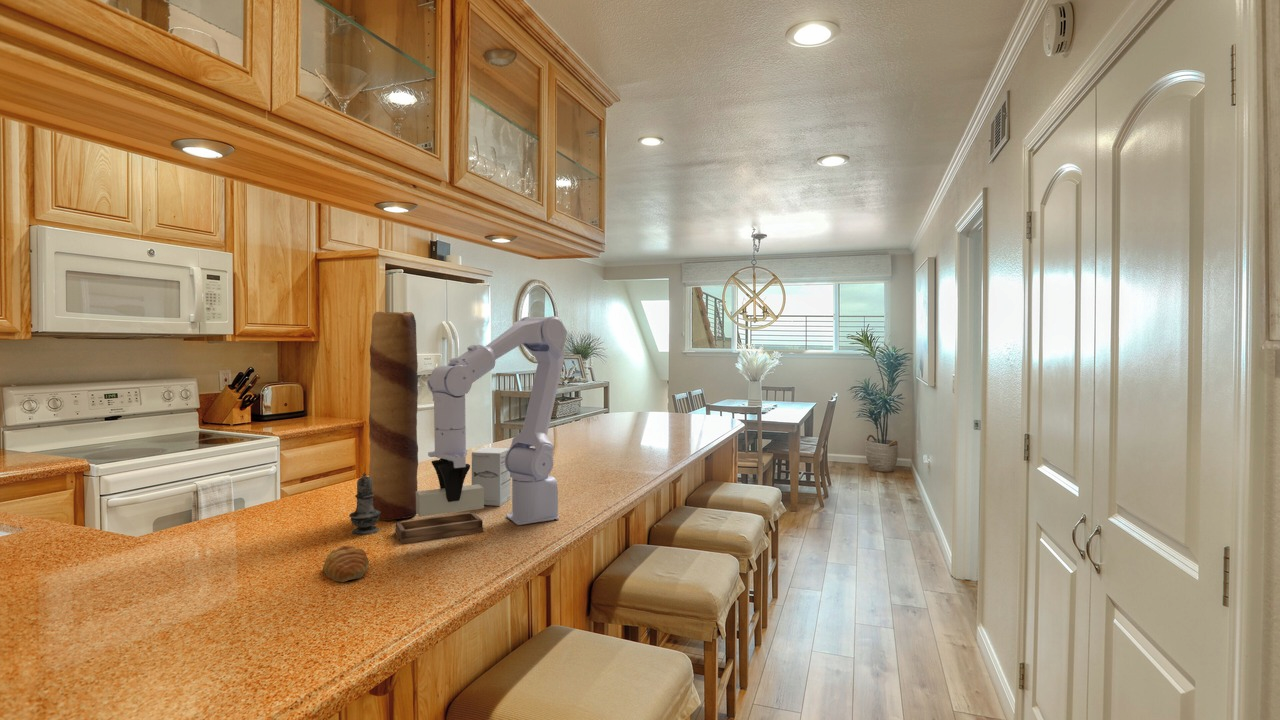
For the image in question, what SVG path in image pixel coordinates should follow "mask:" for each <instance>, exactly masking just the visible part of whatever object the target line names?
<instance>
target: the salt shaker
mask: <svg viewBox="0 0 1280 720" xmlns="http://www.w3.org/2000/svg"><path fill="white" fill-rule="evenodd" d="M362 475H363V476H361V477H359V478H358V479H357V480H356V481H357V482H356V494H355V495H354V497H355V498H356V507H355V511H354V512H351V513H349V515H348V517H349V518H350V521H351V523H352V525H353V526H355V527H354V528H353V529H352V530H351V531H350V534H351V535H352V536H353V535H354V536H368V535H373V534H375V532H376V533H377V531H378V532H379V531H380V528H379V527H378V526H375V525H376V523H377V522H378V521H379V520H378V518H379V514H380V513H381V512H380V511H378V510H375V509H374V507H373V496H374V493H372V479H371V478H369V476H366V475H367V473H366V472H364V473H363V474H362ZM372 533H373V534H372ZM367 534H368V535H367Z"/></svg>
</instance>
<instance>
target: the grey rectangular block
mask: <svg viewBox="0 0 1280 720" xmlns="http://www.w3.org/2000/svg"><path fill="white" fill-rule="evenodd" d="M484 508H485V505H484V488H483V487H482V486H480V485H479V484H477V485H472V484H471V485H470V484H469V485H463V487H462V492H461V496H460V500H459V501H453V502H448V500H447V497H446V492H445V488H442V489H440V488H434V489H428V490H426V489H425V490H419V491H418V490H417V491H416V513H417V514H416V515H418V517H420V518H422V517H429V516H436V515H444V514H451V513H459V512H460V513H461V512H466V511H473V510H481V509H482V510H483V509H484Z"/></svg>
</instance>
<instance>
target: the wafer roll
mask: <svg viewBox="0 0 1280 720" xmlns="http://www.w3.org/2000/svg"><path fill="white" fill-rule="evenodd" d="M416 322H417V321H416V318H415V314H414V313H413V312H411V311H406V312H404V311H403V312H396V311H395V312H394V311H393V312H392V311H391V312H390V311H388V312H382V311H375V312H374V313H373V315H372V319H371V335H370V345H369V356H370V361H369V368H370V369H369V370H370V390H369V391H370V393H369V415H368V424H369V425H368V427H369V432H368V433H369V434H368V438H369V439H368V440H369V443H370V445H369V456H370V457H369V465H368V467H369V473H368V477H369V478H371V479H372V493H374V496H373V507H374V509H375V510H378V511H380V512H381V513H380V514H379V518H378V521H389V520H397V519H398V520H399V519H400V520H401V519H408V518H411V517H414V516H415V515H418V514H417V513H416V491H418V467H419V454H418V453H419V446H418V445H419V444H418V432H417V431H418V430H417V429H418V428H417V427H418V419H417V418H418V398H419V391H418V383H419V378H418V370H419V369H418V364H419V363H418V349H417V347H418V346H417V345H418V344H417V343H418V342H417V341H418V340H417V323H416Z"/></svg>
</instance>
